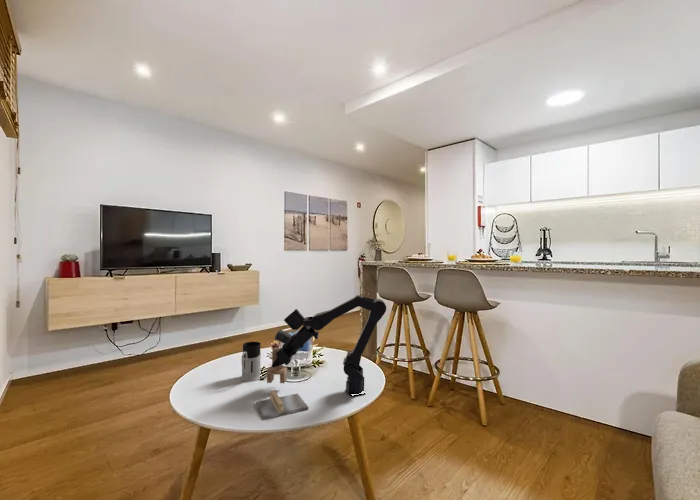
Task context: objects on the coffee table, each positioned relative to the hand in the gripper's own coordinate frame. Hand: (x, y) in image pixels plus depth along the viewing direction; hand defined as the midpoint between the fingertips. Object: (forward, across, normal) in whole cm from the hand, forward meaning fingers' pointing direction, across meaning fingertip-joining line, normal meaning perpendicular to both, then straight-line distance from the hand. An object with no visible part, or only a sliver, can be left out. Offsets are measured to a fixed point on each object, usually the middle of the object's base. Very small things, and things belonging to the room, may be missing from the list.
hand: (273, 364), depth 133 cm
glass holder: (+17, -9, -2) cm, 19 cm away
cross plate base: (+2, +14, +12) cm, 19 cm away
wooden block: (+4, 0, +6) cm, 7 cm away
